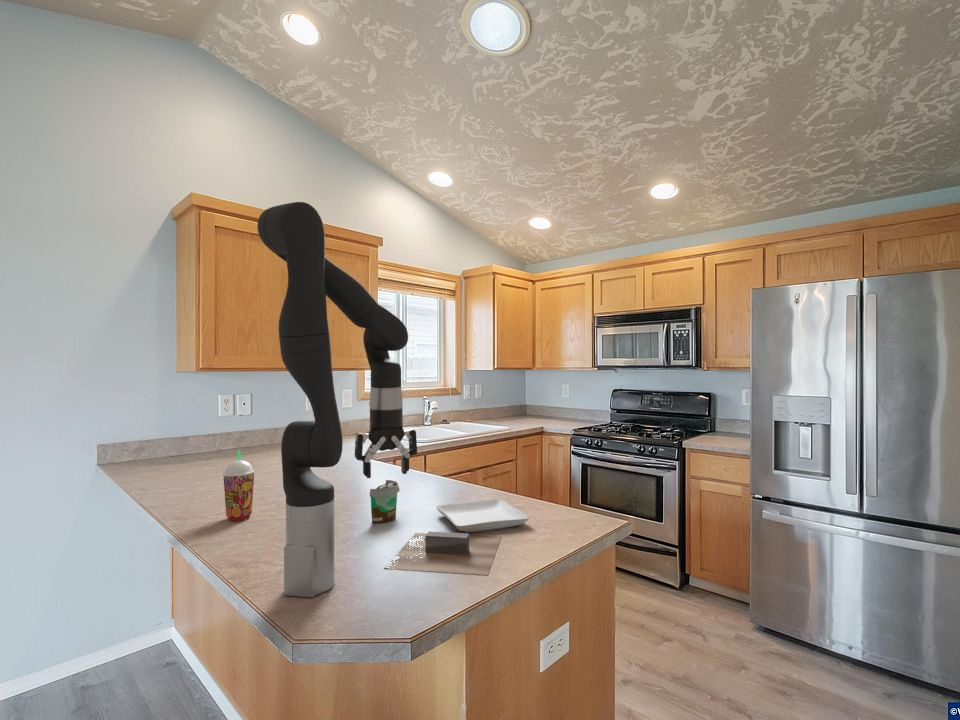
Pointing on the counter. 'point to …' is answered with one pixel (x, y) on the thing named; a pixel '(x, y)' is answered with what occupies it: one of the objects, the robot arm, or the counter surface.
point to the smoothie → (238, 489)
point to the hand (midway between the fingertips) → (386, 475)
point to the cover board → (449, 553)
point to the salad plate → (482, 515)
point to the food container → (384, 502)
